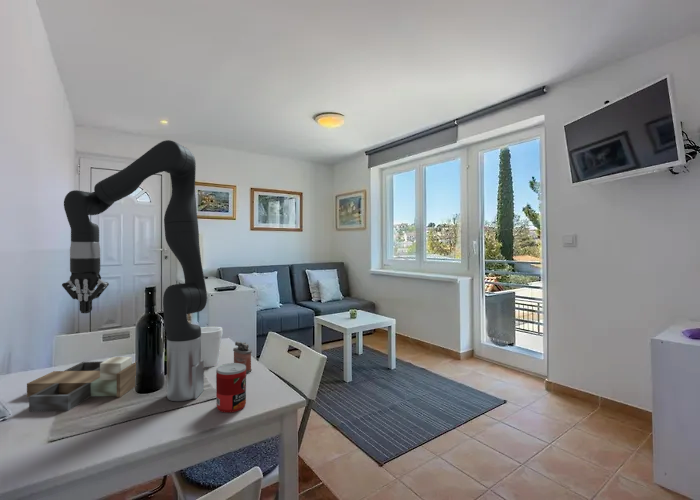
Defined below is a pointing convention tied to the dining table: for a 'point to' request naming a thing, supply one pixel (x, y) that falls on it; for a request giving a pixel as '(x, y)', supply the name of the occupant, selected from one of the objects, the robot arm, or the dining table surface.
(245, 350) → the lighter
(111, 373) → the block
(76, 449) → the dining table surface
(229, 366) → the canned food
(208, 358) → the foam cup
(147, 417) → the dining table surface
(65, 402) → the box
